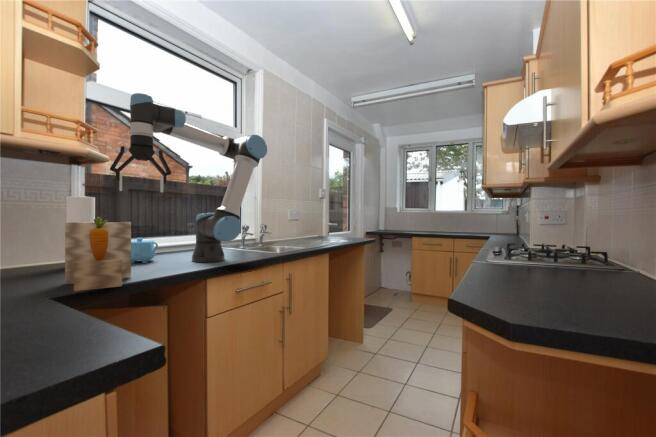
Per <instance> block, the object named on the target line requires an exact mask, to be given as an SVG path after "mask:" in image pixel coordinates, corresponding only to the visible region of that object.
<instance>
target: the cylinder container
mask: <svg viewBox="0 0 656 437" xmlns="http://www.w3.org/2000/svg"><path fill="white" fill-rule="evenodd" d="M94 219H96V197H95V196H93V197H92V196H86V195H75V196H74V195H72V196H71V195H70V196H69V195H68V196H66V222H94Z"/></svg>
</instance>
